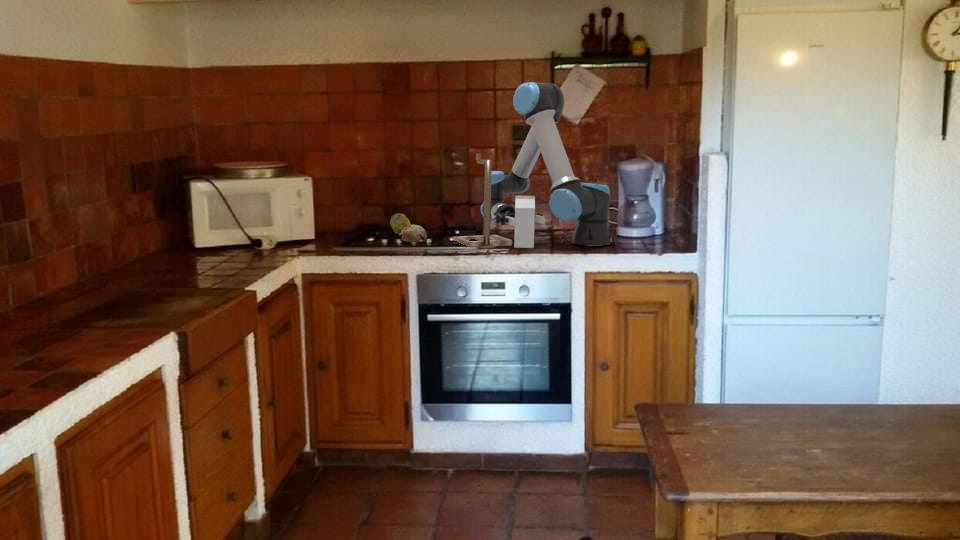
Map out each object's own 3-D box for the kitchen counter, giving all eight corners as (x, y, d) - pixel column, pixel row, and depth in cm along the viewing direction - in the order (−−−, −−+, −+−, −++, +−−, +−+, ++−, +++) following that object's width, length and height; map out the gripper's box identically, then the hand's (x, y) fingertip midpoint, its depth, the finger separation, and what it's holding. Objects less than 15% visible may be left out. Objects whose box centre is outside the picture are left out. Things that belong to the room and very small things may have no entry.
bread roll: (412, 252, 348) (419, 234, 345) (392, 238, 352) (399, 220, 349) (427, 248, 356) (434, 231, 353) (407, 235, 360) (414, 217, 357)
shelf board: (496, 239, 358) (496, 234, 357) (511, 245, 345) (512, 240, 345) (453, 241, 351) (453, 236, 350) (467, 247, 338) (467, 242, 338)
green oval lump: (390, 236, 360) (391, 216, 359) (389, 232, 373) (389, 212, 371) (412, 236, 361) (412, 216, 360) (410, 232, 374) (410, 212, 372)
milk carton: (533, 248, 339) (535, 197, 336) (514, 248, 339) (515, 196, 336) (533, 245, 346) (534, 195, 343) (514, 245, 346) (515, 194, 343)
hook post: (482, 243, 349) (484, 153, 343) (494, 247, 339) (496, 155, 333) (470, 243, 347) (471, 153, 341) (481, 248, 337) (483, 155, 331)
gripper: (531, 222, 363) (557, 230, 343) (475, 224, 353) (499, 232, 334) (532, 203, 361) (558, 210, 342) (475, 205, 352) (499, 212, 332)
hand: (529, 221), depth 338 cm, fingers open, 12 cm apart
